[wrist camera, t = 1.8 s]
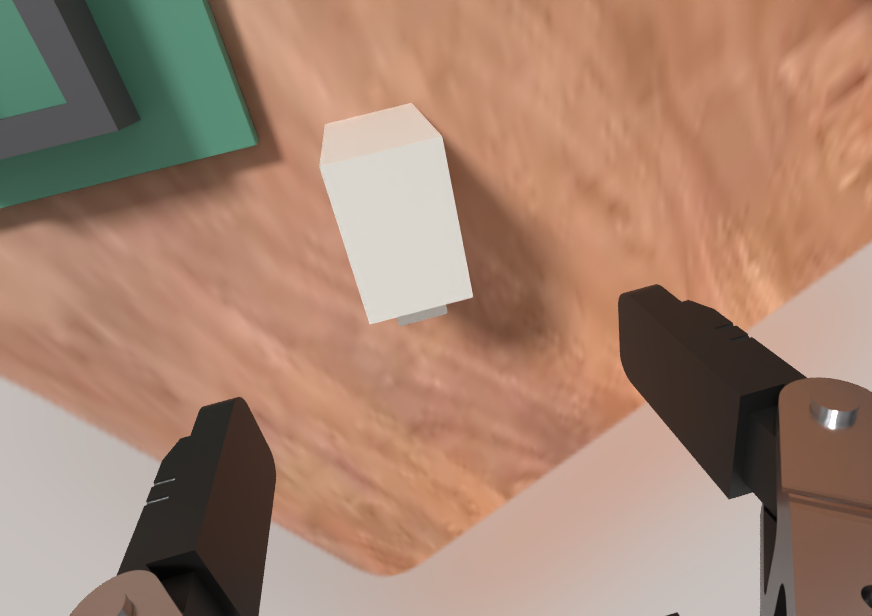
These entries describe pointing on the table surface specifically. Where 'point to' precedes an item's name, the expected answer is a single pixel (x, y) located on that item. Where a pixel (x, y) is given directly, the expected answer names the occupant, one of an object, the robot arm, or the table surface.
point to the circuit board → (111, 92)
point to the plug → (396, 213)
